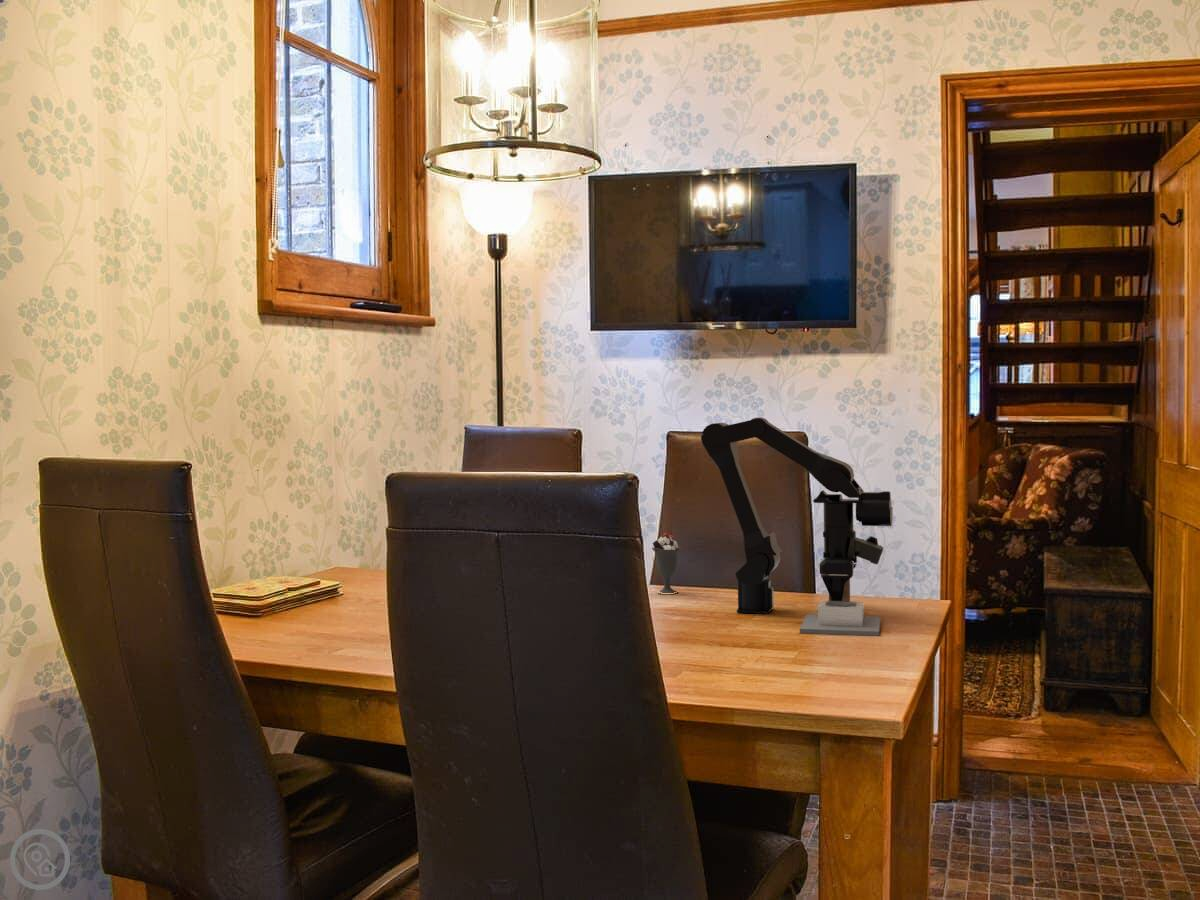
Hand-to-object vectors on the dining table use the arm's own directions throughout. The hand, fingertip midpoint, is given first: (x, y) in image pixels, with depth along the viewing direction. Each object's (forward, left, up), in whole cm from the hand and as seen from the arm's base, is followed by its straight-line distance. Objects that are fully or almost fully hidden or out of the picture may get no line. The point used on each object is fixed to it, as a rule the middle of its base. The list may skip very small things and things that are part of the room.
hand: (839, 604), depth 218 cm
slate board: (+1, -12, -2) cm, 12 cm away
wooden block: (0, 0, -2) cm, 2 cm away
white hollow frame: (+1, -12, -2) cm, 12 cm away
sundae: (-39, +19, -2) cm, 43 cm away
